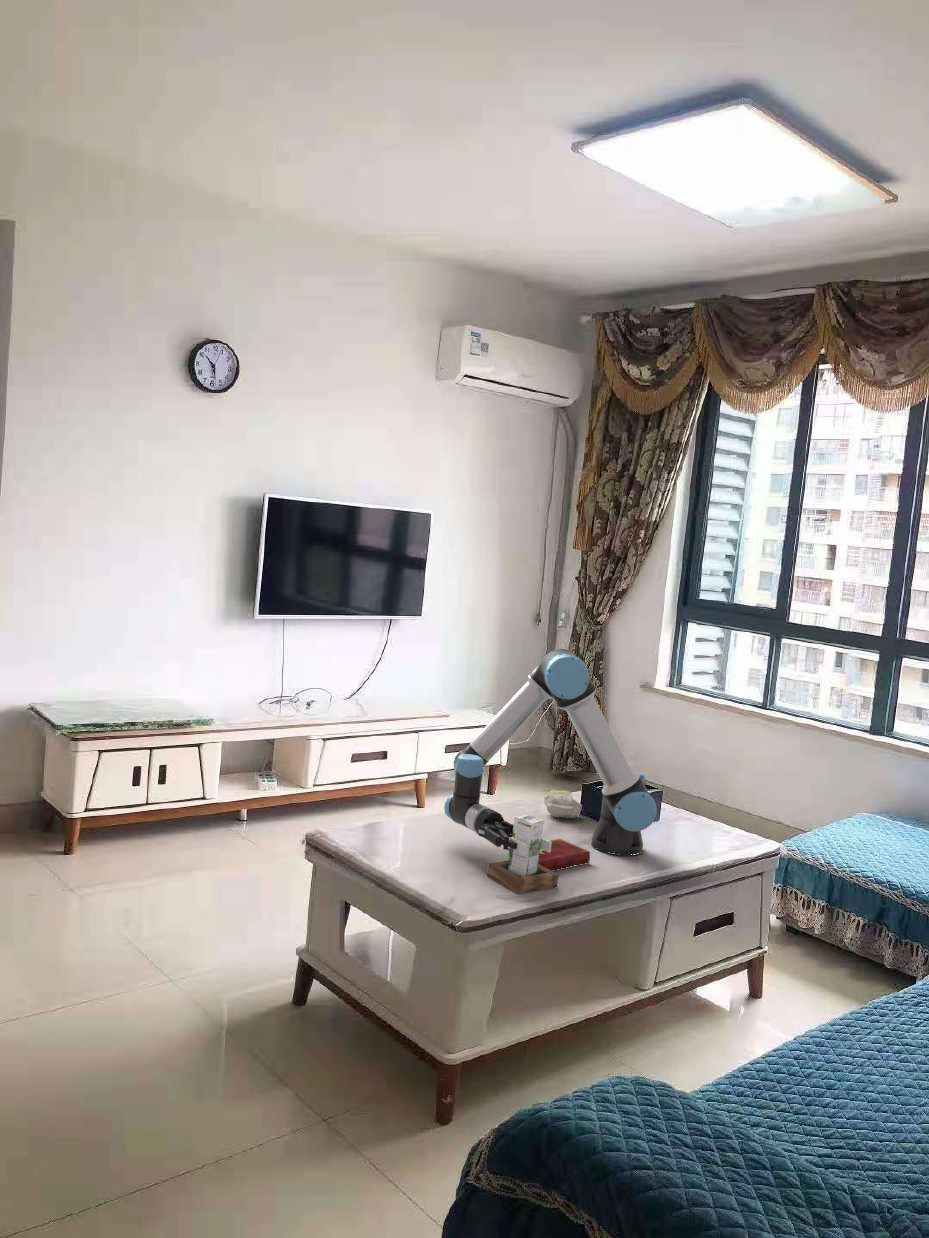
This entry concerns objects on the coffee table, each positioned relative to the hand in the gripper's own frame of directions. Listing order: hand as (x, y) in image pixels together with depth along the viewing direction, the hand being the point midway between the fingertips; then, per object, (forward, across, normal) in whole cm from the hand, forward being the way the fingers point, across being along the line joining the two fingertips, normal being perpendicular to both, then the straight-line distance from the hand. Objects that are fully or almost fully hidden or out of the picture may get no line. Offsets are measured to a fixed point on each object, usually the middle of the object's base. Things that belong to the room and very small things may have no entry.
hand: (538, 848), depth 260 cm
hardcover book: (-15, -17, -11) cm, 25 cm away
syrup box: (-5, 0, -8) cm, 10 cm away
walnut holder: (-5, 0, -10) cm, 12 cm away
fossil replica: (-48, -51, -11) cm, 71 cm away
